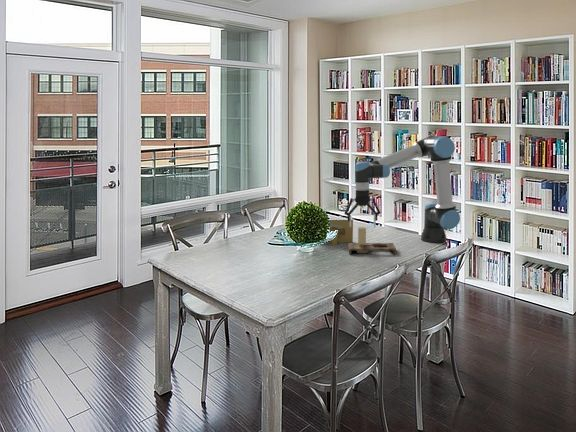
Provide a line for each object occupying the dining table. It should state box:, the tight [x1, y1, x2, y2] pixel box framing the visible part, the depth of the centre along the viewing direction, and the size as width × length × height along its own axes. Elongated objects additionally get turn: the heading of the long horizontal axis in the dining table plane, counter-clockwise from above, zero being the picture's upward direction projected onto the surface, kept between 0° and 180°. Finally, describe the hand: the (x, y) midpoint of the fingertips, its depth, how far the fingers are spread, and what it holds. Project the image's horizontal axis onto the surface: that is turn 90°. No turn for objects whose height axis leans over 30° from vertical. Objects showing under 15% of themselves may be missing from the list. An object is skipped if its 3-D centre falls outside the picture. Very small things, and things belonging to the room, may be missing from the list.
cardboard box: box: [329, 219, 354, 246], centre depth 308 cm, size 23×9×15 cm, turn 84°
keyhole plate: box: [347, 242, 397, 255], centre depth 288 cm, size 26×13×4 cm, turn 86°
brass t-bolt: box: [355, 226, 369, 254], centre depth 288 cm, size 6×6×14 cm
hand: (362, 226), depth 286 cm, fingers open, 13 cm apart
